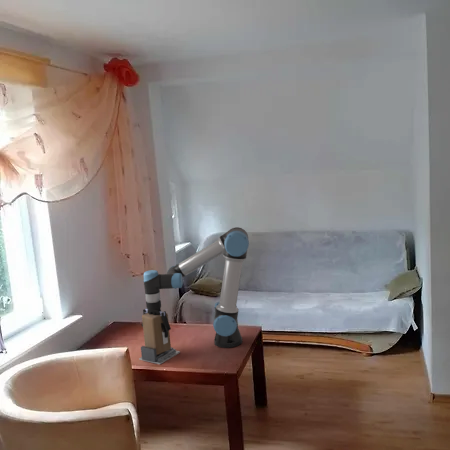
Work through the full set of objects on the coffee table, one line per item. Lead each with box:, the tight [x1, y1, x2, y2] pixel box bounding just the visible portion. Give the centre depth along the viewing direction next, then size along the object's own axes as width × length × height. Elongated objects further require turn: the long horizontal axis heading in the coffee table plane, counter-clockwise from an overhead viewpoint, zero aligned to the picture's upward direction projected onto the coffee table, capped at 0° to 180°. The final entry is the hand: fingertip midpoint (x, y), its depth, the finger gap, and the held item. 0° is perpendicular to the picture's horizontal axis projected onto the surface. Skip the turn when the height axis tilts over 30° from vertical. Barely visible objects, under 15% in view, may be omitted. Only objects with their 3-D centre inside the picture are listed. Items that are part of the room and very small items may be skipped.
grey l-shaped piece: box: [138, 345, 181, 365], centre depth 283 cm, size 14×17×8 cm
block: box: [141, 312, 172, 355], centre depth 281 cm, size 10×10×20 cm
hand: (157, 341), depth 282 cm, fingers closed on block, 11 cm apart
